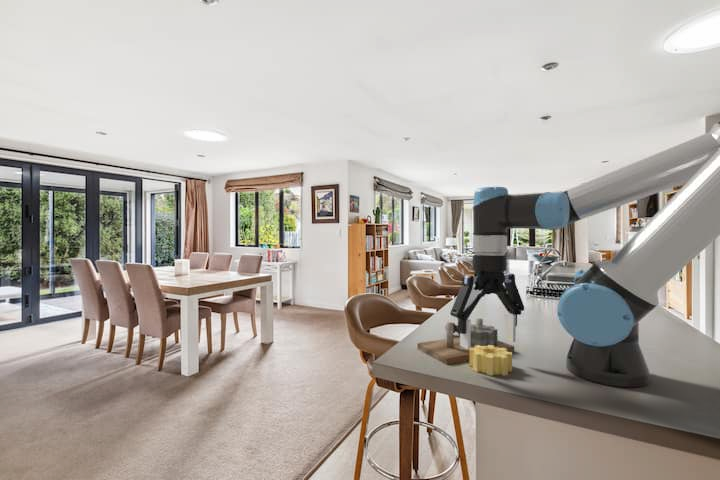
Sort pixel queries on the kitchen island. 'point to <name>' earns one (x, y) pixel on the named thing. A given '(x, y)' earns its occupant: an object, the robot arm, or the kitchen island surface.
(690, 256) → the robot arm
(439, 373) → the kitchen island surface
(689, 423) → the kitchen island surface
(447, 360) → the gear board
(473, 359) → the mustard gear
